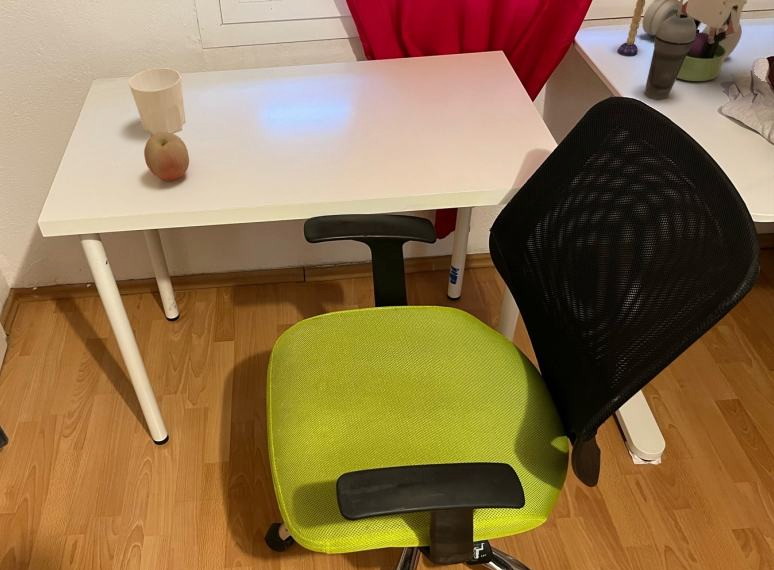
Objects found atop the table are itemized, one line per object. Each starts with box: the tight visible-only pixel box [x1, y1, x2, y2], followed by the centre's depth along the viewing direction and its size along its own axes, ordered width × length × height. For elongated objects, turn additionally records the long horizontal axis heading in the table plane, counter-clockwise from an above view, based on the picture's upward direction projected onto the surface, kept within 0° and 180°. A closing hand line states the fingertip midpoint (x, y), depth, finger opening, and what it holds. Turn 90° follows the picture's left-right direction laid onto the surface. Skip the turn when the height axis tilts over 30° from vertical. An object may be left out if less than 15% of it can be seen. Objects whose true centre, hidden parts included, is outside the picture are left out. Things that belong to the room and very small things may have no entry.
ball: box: [687, 31, 709, 58], centre depth 142 cm, size 5×5×5 cm
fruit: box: [143, 132, 190, 182], centre depth 124 cm, size 8×8×8 cm
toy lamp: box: [617, 0, 646, 57], centre depth 148 cm, size 5×5×17 cm
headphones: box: [642, 0, 748, 59], centre depth 147 cm, size 20×8×19 cm, turn 28°
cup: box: [128, 67, 187, 136], centre depth 137 cm, size 10×10×10 cm
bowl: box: [676, 44, 727, 82], centre depth 144 cm, size 11×11×5 cm
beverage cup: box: [644, 0, 696, 100], centre depth 133 cm, size 7×7×20 cm
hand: (695, 54), depth 144 cm, fingers closed on ball, 4 cm apart
